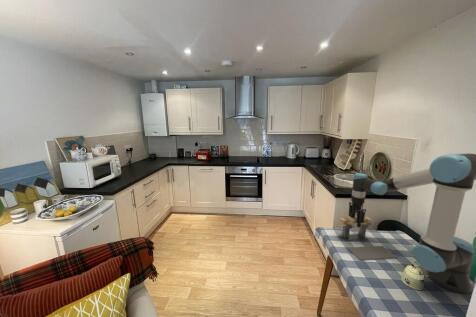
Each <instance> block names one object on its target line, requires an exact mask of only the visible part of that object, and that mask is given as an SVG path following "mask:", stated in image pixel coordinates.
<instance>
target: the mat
mask: <svg viewBox="0 0 476 317" xmlns="http://www.w3.org/2000/svg"><path fill="white" fill-rule="evenodd" d="M346 249H347V250H348V251H349V252H350V253H352V255H354V256H355V258H357V259H358V260H359V261H371V260H375V261H376V260H387V259H388V260H391V259H398V258H399V256H397V255H396V254H395V253H393V252H392V251H390V250H389V249H388V248H386V247H385V246H384V245H372V246H355V247H353V246H351V247H347V248H346Z"/></svg>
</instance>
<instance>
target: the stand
mask: <svg viewBox="0 0 476 317" xmlns="http://www.w3.org/2000/svg"><path fill="white" fill-rule="evenodd" d="M369 226H370V225H363V226H360V230H359V231H357V233H355V234H354V233H353V234H350V230H351V229H353V228H352V225H347V226H342V231H341V234H338V237H340V239H342V240H343V242H347V241H348V242H349V241H350V242H352V241H368V240H369V238H368V237H367V236H366V234H367V233H366V232H367V229H369Z"/></svg>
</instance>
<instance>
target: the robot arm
mask: <svg viewBox="0 0 476 317" xmlns="http://www.w3.org/2000/svg"><path fill="white" fill-rule="evenodd" d="M475 180H476V154H475V153H449V154H448V153H447V154H445V155H444V154H443V155H440V156H438V157H436V158H435V159H433V160H432V161H431V163H430V165H429V168H426V169H423V170H420V171H414V172H409V173H408V174H407V173H406V174H403V175H398V176H396V177H395V176H394V177H391V178H386V179H377V180H375V179H371V178H368V174H366V173H362V172H357V173H354V174H353V179H352V192H351V198H350V201H349V202H348V217H349V218H353V217H357V221H356V225H355V226H352V228H351V229H353V228H354V231H355V232H358V231H359V230H360V226H361V223H364V217H366V212H367V209H366V208H364V203H366V201H365V200H366V193H367V192H370V193H372V194H374V195H379V196H383V195H385V194H386V193H387V192H388V193H389V192H397V191H400V190H404V189H411V188H414V187H420V186H426V185H431V184H433V185H435V186H436V187H435V192H434V197H433V201H432V205H431V210H430V215H429V219H428V224H427V228H426V232H425V234H422V235H420V239H419V243H418V244H416V245H414V246H413V248H412V250H411V252H412V257H413V259H414V260H415V261H416V263H417V264H418V265H419V266H420V267H422V269H424V270H425V271H426V276H427V275H428V276H427V277H428V279H429V280H431V281H432V282H433V283H434V284H436V285H437V286H439V287H441V288H443V289H445V290H448V291H451V292H453V293H457V294H462V295H468V294H470V293H471V292H472V283H471V279H470V276H469V274H470V269H471V264H472V261H473V257H474V254H475V246H474V245H473V244H472V243H470V242H469V241H466V240H465V239H463V238H459V237H458V236H455V235H456V230H457V227H458V226H457V225H458V223H459V218H460V214H461V210H462V207H463V206H462V205H463V201H464V200H465V195H466V192H467V191H470V190H472V189H473V186H474V183H475ZM366 191H367V192H366ZM470 291H471V292H470ZM469 292H470V293H469Z"/></svg>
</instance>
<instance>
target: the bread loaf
mask: <svg viewBox="0 0 476 317" xmlns="http://www.w3.org/2000/svg"><path fill="white" fill-rule="evenodd" d="M372 220H373V219H371V218H370V217H369V216H365V217H364V223H361V226H363V225H369V226H372V222H373V221H372ZM356 221H357V216H355V217H353V218H350V217H340V218H339V224H340V225H341V226H342V227H343V226H347V225H352V226H355V225H356Z"/></svg>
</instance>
